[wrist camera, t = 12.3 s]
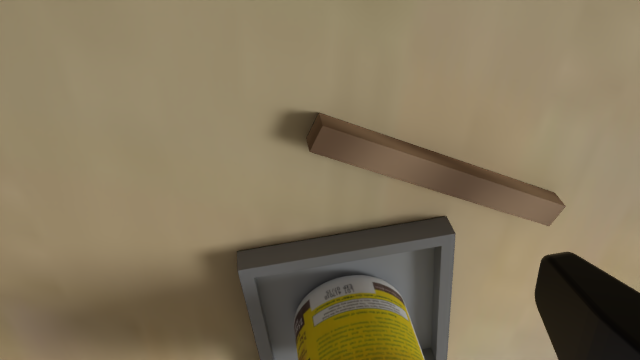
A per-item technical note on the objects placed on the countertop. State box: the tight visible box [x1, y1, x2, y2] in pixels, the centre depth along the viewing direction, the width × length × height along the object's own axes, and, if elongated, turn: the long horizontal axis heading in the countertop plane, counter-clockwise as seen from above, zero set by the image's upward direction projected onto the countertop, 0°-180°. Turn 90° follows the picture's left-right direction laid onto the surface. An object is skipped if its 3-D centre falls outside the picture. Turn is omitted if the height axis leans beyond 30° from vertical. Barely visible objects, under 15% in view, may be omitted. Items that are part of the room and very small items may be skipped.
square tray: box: [237, 216, 455, 360], centre depth 27 cm, size 10×10×1 cm
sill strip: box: [306, 113, 566, 226], centre depth 23 cm, size 12×1×1 cm, turn 66°
